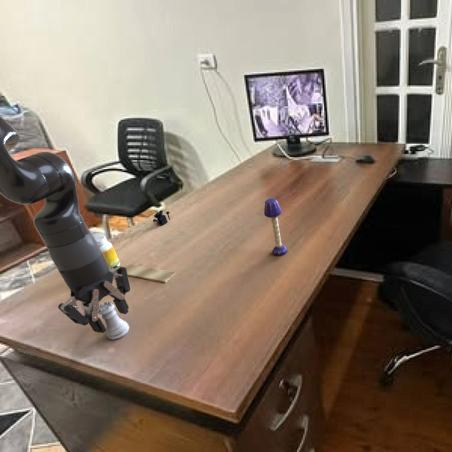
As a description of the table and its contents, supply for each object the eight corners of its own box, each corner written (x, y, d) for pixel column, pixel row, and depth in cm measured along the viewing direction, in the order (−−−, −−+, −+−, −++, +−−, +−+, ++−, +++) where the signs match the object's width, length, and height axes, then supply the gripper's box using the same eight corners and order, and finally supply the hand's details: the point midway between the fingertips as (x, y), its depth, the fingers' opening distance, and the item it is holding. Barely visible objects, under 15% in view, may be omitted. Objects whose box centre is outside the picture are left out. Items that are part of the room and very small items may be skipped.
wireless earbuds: (157, 229, 120) (152, 216, 117) (152, 228, 121) (147, 215, 118) (173, 219, 125) (168, 207, 123) (168, 219, 126) (163, 206, 124)
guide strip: (115, 273, 98) (115, 271, 98) (127, 265, 101) (126, 263, 101) (165, 283, 92) (164, 281, 92) (176, 274, 95) (175, 272, 95)
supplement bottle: (99, 275, 98) (84, 246, 94) (101, 265, 103) (86, 237, 98) (120, 268, 100) (106, 240, 95) (121, 259, 104) (108, 232, 100)
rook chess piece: (115, 343, 75) (100, 315, 71) (103, 336, 77) (88, 309, 73) (134, 329, 78) (120, 301, 74) (122, 323, 80) (108, 296, 76)
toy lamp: (291, 250, 101) (282, 197, 93) (281, 258, 98) (271, 205, 89) (279, 246, 103) (269, 195, 95) (268, 254, 100) (257, 202, 92)
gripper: (97, 236, 75) (127, 297, 83) (27, 276, 63) (70, 343, 71) (123, 240, 72) (151, 302, 80) (55, 283, 60) (96, 351, 69)
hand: (113, 321), depth 76 cm, fingers open, 5 cm apart
